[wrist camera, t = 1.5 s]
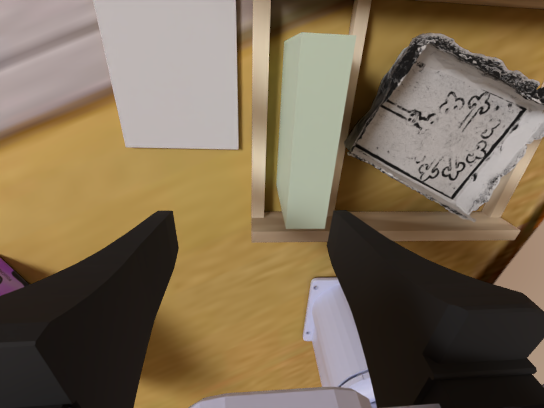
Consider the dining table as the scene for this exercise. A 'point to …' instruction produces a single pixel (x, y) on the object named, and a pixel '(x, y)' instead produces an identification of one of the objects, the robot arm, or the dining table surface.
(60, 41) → the dining table surface
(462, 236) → the birch rack
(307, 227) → the pale green block
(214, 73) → the light gray panel
